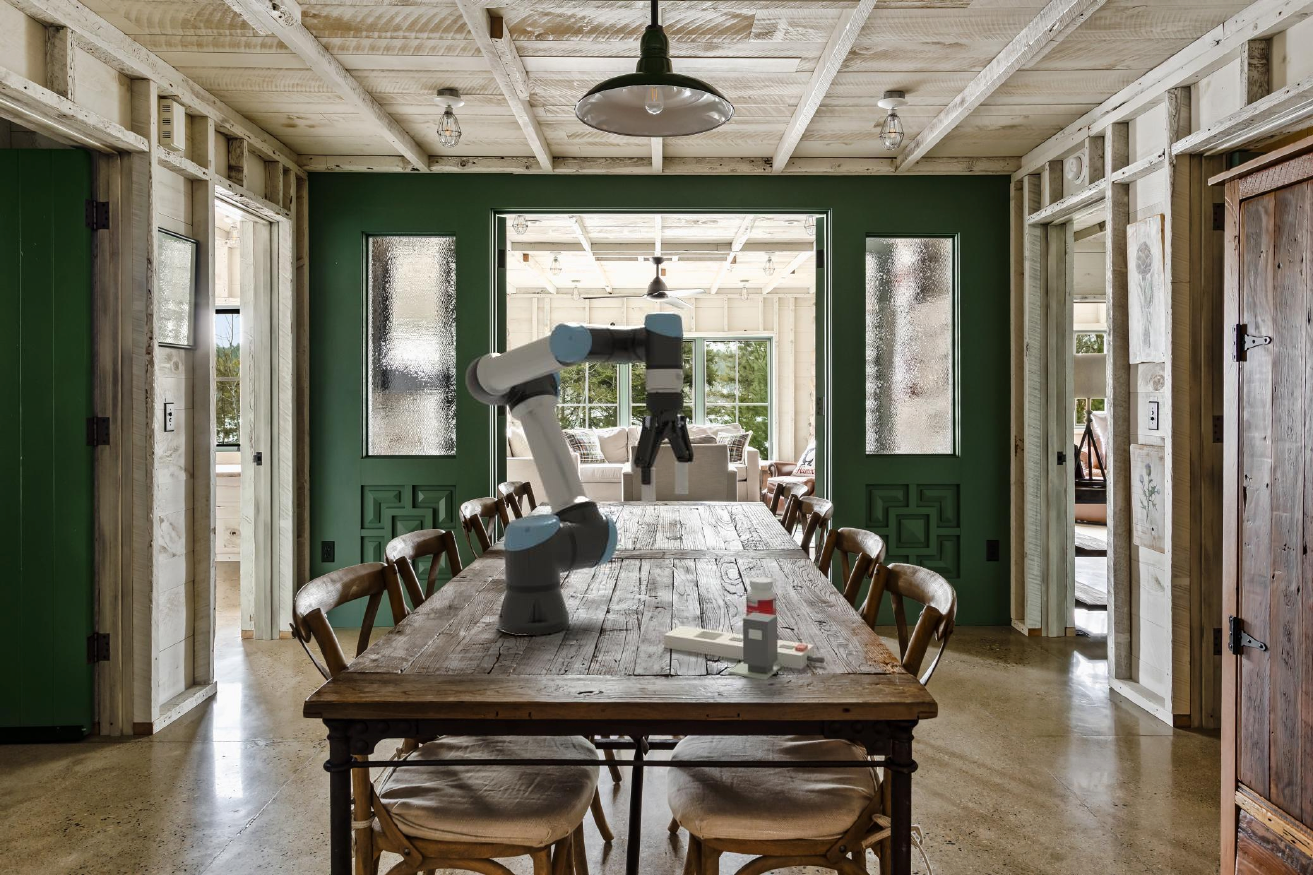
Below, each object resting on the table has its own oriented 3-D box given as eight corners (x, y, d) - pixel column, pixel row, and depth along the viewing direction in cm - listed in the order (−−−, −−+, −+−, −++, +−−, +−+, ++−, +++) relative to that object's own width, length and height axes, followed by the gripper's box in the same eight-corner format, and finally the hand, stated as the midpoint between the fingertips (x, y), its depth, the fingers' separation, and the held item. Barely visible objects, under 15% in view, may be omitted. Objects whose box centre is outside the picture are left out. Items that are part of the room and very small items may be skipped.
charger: (743, 672, 144) (742, 618, 143) (753, 664, 148) (753, 612, 147) (767, 676, 141) (767, 621, 141) (777, 668, 146) (777, 615, 145)
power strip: (664, 647, 160) (663, 631, 160) (680, 637, 166) (680, 622, 166) (817, 671, 144) (817, 654, 144) (829, 660, 151) (829, 643, 150)
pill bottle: (742, 635, 168) (742, 581, 167) (751, 627, 173) (751, 575, 173) (771, 638, 165) (771, 584, 164) (780, 630, 171) (779, 577, 170)
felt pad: (728, 673, 144) (728, 671, 144) (744, 662, 150) (744, 659, 150) (765, 679, 141) (765, 677, 141) (780, 667, 147) (780, 665, 147)
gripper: (649, 391, 150) (650, 506, 151) (709, 391, 172) (710, 491, 173) (614, 391, 154) (616, 503, 155) (677, 391, 175) (678, 490, 176)
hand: (665, 497), depth 164 cm, fingers open, 13 cm apart
